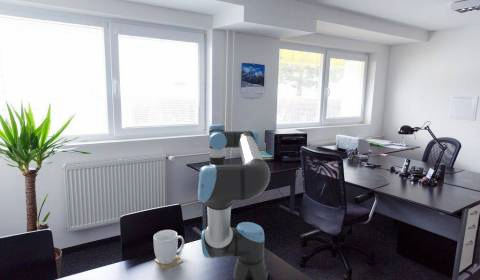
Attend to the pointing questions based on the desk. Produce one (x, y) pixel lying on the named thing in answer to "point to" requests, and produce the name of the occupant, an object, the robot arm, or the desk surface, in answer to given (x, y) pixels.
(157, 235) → the mug
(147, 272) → the desk surface
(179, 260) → the coaster
